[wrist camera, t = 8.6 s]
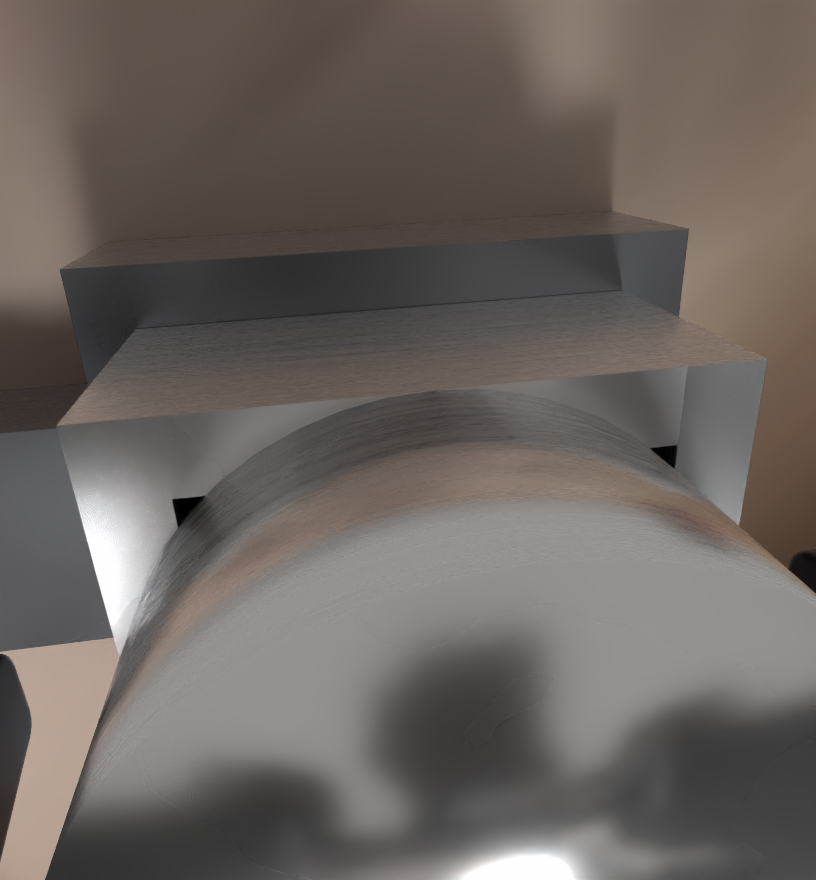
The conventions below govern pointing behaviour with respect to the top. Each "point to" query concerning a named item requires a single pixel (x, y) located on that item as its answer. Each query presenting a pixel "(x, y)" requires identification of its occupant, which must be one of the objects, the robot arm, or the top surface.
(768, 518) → the top surface
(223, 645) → the grey square-based fixture
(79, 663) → the top surface
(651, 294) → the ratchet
